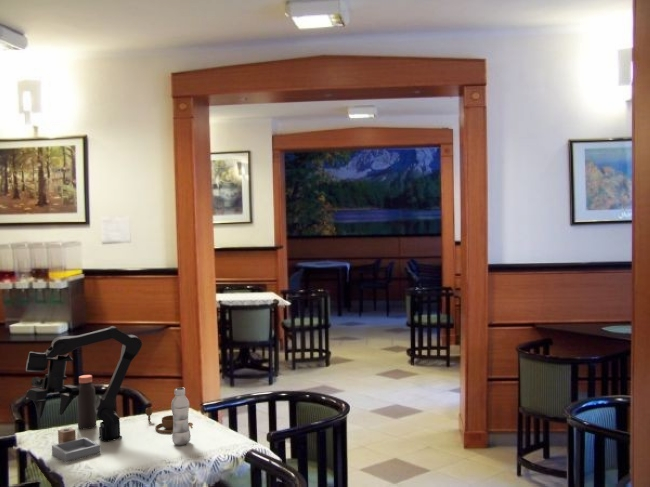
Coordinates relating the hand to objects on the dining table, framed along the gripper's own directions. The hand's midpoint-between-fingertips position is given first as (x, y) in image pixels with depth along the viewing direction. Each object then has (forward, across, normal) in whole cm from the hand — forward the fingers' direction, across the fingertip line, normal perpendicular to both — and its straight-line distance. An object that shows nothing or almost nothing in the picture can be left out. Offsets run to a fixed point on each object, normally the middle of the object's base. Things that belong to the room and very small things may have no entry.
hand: (50, 416), depth 245 cm
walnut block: (+10, -5, +5) cm, 13 cm away
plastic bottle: (+4, -25, +41) cm, 48 cm away
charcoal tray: (+10, -1, +14) cm, 18 cm away
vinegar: (+9, -24, -6) cm, 27 cm away
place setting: (+4, -39, +22) cm, 45 cm away
